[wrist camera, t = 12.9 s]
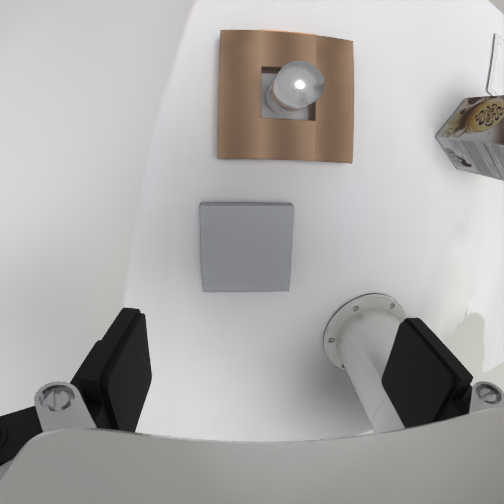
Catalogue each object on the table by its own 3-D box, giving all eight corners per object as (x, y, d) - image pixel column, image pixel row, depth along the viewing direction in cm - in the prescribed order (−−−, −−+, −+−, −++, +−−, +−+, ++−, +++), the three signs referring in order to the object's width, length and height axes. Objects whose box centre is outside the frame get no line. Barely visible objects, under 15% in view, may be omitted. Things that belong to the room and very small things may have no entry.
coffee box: (464, 95, 32) (551, 91, 17) (487, 131, 33) (571, 140, 18) (432, 136, 34) (524, 143, 18) (457, 172, 35) (545, 195, 20)
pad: (290, 202, 36) (293, 206, 34) (286, 284, 39) (288, 291, 37) (201, 202, 35) (199, 205, 33) (204, 284, 38) (202, 291, 36)
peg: (302, 82, 31) (324, 63, 23) (301, 115, 33) (324, 106, 24) (266, 79, 31) (277, 58, 22) (265, 114, 32) (276, 103, 24)
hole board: (343, 45, 30) (352, 38, 27) (343, 161, 34) (352, 163, 32) (221, 36, 29) (220, 27, 26) (219, 157, 34) (217, 158, 31)
